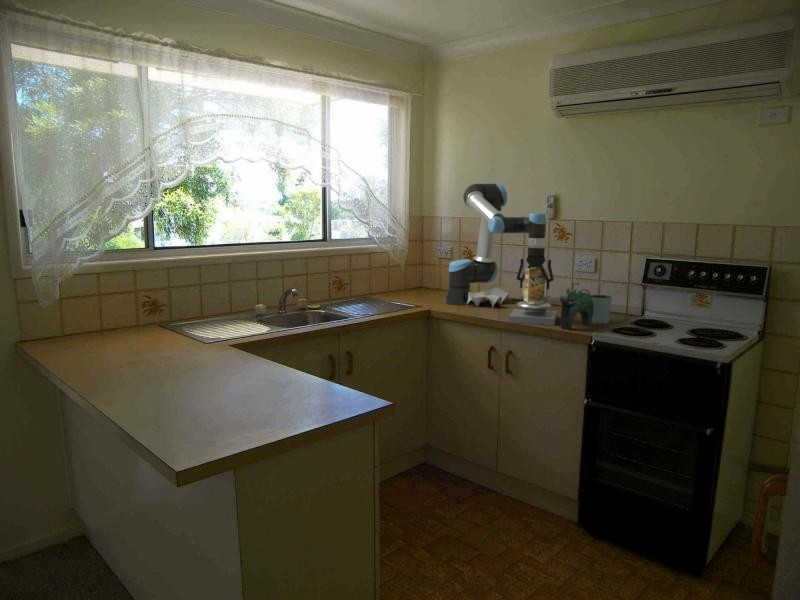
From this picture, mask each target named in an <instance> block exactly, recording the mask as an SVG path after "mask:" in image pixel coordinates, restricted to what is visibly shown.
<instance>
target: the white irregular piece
mask: <svg viewBox="0 0 800 600" xmlns="http://www.w3.org/2000/svg"><path fill="white" fill-rule="evenodd" d="M509 295H510V293H509V292H506V291H505V290H504V289H503V288H502V286H500V285H498V284H495V285H491V286H490V287H489V288H488V289H487V290H483V291H478V292H468V302H469V301H470V300H473V303H474V304H475V306H476V307H479V305H480V304H481V303H486V298H487V299H488V300H489V305H490V304H492V305H491V309H493V308H494V306H495V304H498V305H499V306H501V305H502V303H503V301H504V300H505V301H504V302H505V303H506V301H508V298H509ZM468 302H467V304H468ZM500 304H501V305H500ZM468 305H469V304H468Z"/></svg>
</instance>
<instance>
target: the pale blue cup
mask: <svg viewBox="0 0 800 600" xmlns="http://www.w3.org/2000/svg"><path fill="white" fill-rule="evenodd" d="M590 296H591V298H592V301H593V316H592V321H591V323H592V322H593V323H594V324H600V323H604V324H609V322H610V312H611V307H612V306H611V305H612V300H613V297H612V296H611V295H608V294H590ZM593 323H592V324H593Z"/></svg>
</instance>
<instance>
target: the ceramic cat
mask: <svg viewBox="0 0 800 600" xmlns="http://www.w3.org/2000/svg"><path fill="white" fill-rule="evenodd" d="M575 284H576V285H577V286H579V282H574V283H572V287H571V290H570V288H567V289H564V290H563V291H562V292H561V293H560V295H559V300H560V303H561V313H560V316H561V317H560V318H561V319H560V320H561V321H560V329H561V328H562V329H561V330H565V329H566V331H569V329H570V330H572V326H573V322H574V319H575V316H576V315H577V314H580V316H581V325H582V326H585V325H587V326H586V327H589V325H590V326H591V325H592V322H591V321H592V316H593V301H592V298H591V296H590V295H591V293H590V290H588V289H584V288H583V289H580V290H579V291H578V289H574V285H575ZM583 291H587V292H583Z"/></svg>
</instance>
